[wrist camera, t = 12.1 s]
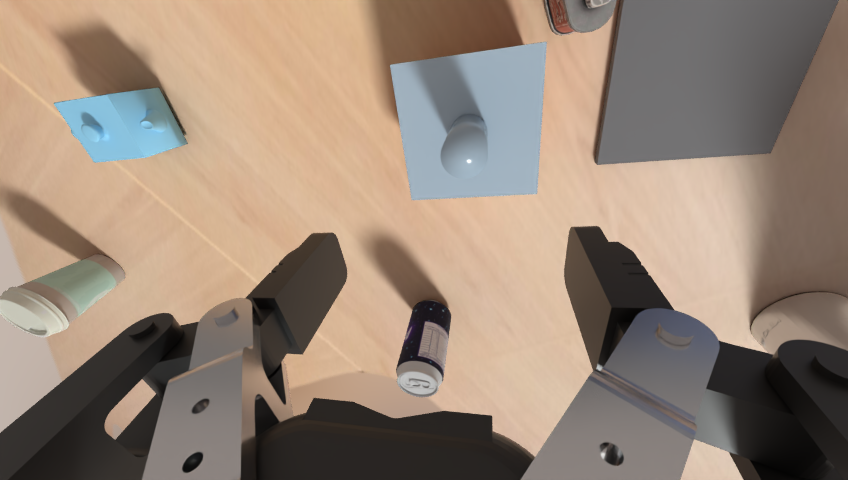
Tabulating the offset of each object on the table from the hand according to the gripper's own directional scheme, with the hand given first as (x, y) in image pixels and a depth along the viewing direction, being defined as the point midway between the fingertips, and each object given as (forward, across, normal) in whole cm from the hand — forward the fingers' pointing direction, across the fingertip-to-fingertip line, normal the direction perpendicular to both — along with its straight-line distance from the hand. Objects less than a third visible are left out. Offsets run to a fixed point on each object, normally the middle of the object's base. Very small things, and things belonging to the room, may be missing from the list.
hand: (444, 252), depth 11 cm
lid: (+18, 0, 0) cm, 18 cm away
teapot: (+24, +36, -4) cm, 44 cm away
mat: (+24, -19, -2) cm, 31 cm away
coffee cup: (+24, +63, +18) cm, 70 cm away
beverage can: (+24, +7, +26) cm, 37 cm away
